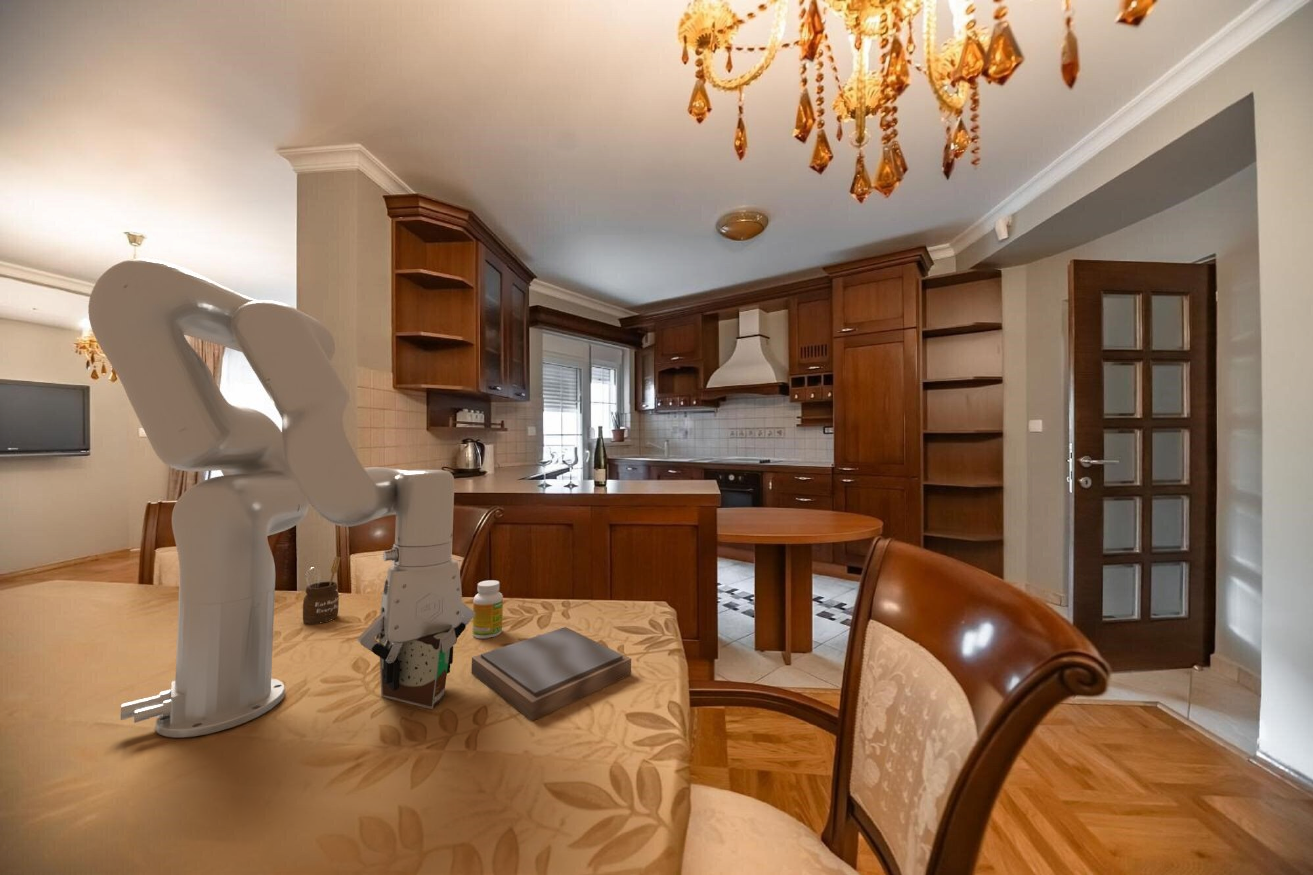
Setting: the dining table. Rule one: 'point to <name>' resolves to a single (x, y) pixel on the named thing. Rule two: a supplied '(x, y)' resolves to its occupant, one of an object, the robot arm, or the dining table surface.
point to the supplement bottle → (487, 610)
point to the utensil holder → (321, 599)
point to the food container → (421, 669)
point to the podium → (549, 670)
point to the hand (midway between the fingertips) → (418, 677)
